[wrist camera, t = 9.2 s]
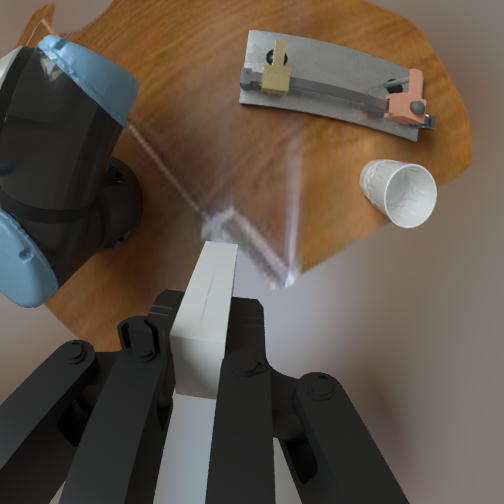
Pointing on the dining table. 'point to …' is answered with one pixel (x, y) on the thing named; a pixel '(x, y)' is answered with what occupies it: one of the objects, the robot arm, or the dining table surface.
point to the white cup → (399, 191)
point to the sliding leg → (407, 100)
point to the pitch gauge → (323, 81)
